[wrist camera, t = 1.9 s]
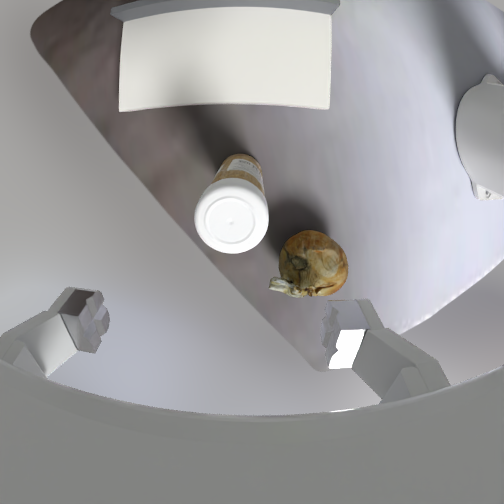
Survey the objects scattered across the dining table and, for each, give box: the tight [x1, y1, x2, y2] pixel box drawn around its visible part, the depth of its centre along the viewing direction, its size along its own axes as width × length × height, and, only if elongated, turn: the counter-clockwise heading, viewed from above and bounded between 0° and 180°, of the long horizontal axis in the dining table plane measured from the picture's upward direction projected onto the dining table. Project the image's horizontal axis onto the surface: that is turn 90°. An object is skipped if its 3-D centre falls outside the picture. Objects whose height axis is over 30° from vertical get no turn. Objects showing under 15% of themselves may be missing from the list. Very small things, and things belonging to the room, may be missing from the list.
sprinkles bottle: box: [194, 154, 269, 253], centre depth 22 cm, size 5×5×14 cm
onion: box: [269, 230, 348, 297], centre depth 29 cm, size 8×8×8 cm
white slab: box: [110, 0, 340, 112], centre depth 19 cm, size 20×11×6 cm, turn 88°
